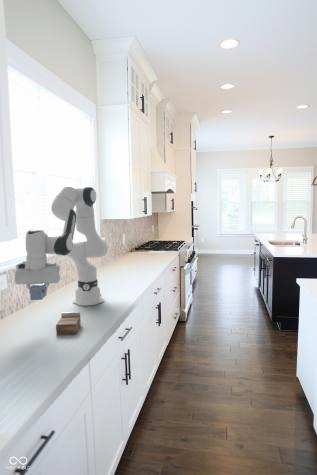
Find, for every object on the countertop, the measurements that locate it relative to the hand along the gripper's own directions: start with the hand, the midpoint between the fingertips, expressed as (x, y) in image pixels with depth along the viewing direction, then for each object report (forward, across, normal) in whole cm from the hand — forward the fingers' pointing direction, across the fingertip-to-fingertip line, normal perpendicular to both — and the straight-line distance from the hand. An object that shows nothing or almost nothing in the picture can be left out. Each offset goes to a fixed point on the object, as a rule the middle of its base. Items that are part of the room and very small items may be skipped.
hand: (38, 292), depth 157 cm
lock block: (+2, 0, 0) cm, 2 cm away
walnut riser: (+19, -14, 0) cm, 23 cm away
